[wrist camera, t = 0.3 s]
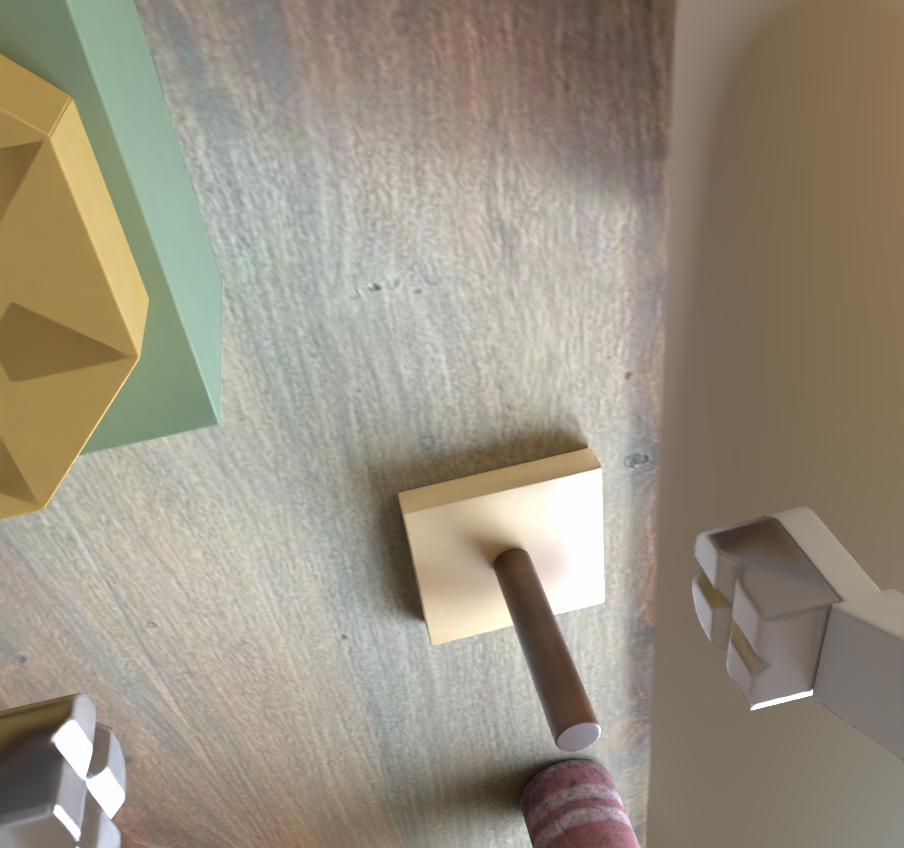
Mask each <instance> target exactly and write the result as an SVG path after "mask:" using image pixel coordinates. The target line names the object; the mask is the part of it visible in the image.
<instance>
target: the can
mask: <svg viewBox="0 0 904 848" xmlns="http://www.w3.org/2000/svg"><path fill="white" fill-rule="evenodd" d="M520 805H521V809H522V812H523V816H524V819H525V823H526V826H527V829H528V833H529V836H530V839H531V843H532V846H533V848H640V846H639V844H638V841H637V839H636V836H635V834H634V831H633V829H632V826H631V824H630V821H629V819H628V816H627V814H626V811H625V809H624V806H623V804H622V801H621V799H620V796H619V794H618V791H617V789H616V786H615V784H614V781H613V779H612V776H611V775H610V774H609V772H608V771H607V770H606V769H605V768H603V767H602V766H601V765H599V764H598V763H595V762H593V761H591V760H583V759H575V760H567V761H563V762H560V763H556V764H553V765H551V766H549V767H547V768H545V769H543V770H541V771H540V772H539V773H537V774H536V775H535V776H533V777H532V778H531V779H530V780H529V782H528V783H527V784H526V786H525V788H524V792H523V795H522V799H521V802H520Z"/></svg>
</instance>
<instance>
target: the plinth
mask: <svg viewBox="0 0 904 848" xmlns="http://www.w3.org/2000/svg"><path fill="white" fill-rule="evenodd" d="M0 54H2V55H3V56H5V57H7V58H8V59H10V60H12V61H13V62H15V63H17V64H18V65H20V66H22V67H23V68H25V69H27V70H28V71H30V72H32V73H33V74H35V75H37V76H38V77H40V78H42V79H43V80H45V81H47V82H48V83H50V84H52V85H53V86H55V87H57V88H59V89H60V90H62V91H64V92H65V93H67V94H69V95H70V96H71V97H72V98H73V100H74V103H75V105H76V108H77V111H78V113H79V116H80V119H81V121H82V124H83V126H84V129H85V132H86V134H87V137H88V140H89V142H90V145H91V147H92V150H93V153H94V155H95V158H96V161H97V163H98V166H99V169H100V171H101V174H102V176H103V179H104V182H105V184H106V187H107V190H108V192H109V195H110V197H111V200H112V203H113V205H114V208H115V211H116V213H117V216H118V219H119V221H120V224H121V226H122V229H123V232H124V234H125V237H126V240H127V242H128V245H129V247H130V250H131V253H132V255H133V258H134V261H135V263H136V266H137V268H138V271H139V274H140V276H141V279H142V282H143V284H144V287H145V290H146V292H147V295H148V297H149V305H148V311H147V317H146V323H145V329H144V335H143V342H142V348H141V354H140V359H139V361H138V362H137V364H136V365H135V367H134V369H133V370H132V372H131V373H130V375H129V376H128V378H127V380H126V381H125V383H124V384H123V386H122V388H121V389H120V391H119V392H118V394H117V395H116V397H115V399H114V400H113V402H112V403H111V405H110V407H109V408H108V410H107V411H106V413H105V414H104V416H103V418H102V419H101V421H100V422H99V424H98V426H97V427H96V429H95V430H94V432H93V433H92V435H91V437H90V438H89V440H88V441H87V443H86V444H85V446H84V448H83V449H82V451H81V452H80V454H79V456H80V455H85V454H89V453H94V452H98V451H103V450H107V449H112V448H116V447H121V446H125V445H130V444H134V443H139V442H143V441H148V440H152V439H157V438H161V437H166V436H170V435H175V434H179V433H184V432H188V431H193V430H197V429H202V428H206V427H211V426H215V425H219V424H220V421H221V345H222V278H221V275H220V272H219V269H218V266H217V262H216V259H215V256H214V253H213V250H212V247H211V243H210V240H209V237H208V234H207V231H206V228H205V225H204V221H203V218H202V215H201V212H200V209H199V206H198V202H197V199H196V196H195V193H194V190H193V187H192V184H191V180H190V177H189V174H188V171H187V168H186V165H185V161H184V158H183V155H182V152H181V149H180V146H179V143H178V139H177V136H176V133H175V130H174V127H173V124H172V120H171V117H170V114H169V111H168V108H167V105H166V102H165V98H164V95H163V92H162V89H161V86H160V83H159V79H158V76H157V73H156V70H155V67H154V64H153V61H152V57H151V54H150V51H149V48H148V45H147V42H146V38H145V35H144V32H143V29H142V26H141V23H140V20H139V16H138V13H137V10H136V7H135V4H134V1H133V0H0Z"/></svg>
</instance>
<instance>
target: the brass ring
mask: <svg viewBox="0 0 904 848" xmlns="http://www.w3.org/2000/svg"><path fill="white" fill-rule="evenodd" d="M148 305H149V297H148V295H147V292H146V290H145V287H144V284H143V282H142V279H141V276H140V274H139V271H138V268H137V266H136V263H135V261H134V258H133V255H132V253H131V250H130V247H129V245H128V242H127V240H126V237H125V234H124V232H123V229H122V226H121V224H120V221H119V219H118V216H117V213H116V211H115V208H114V205H113V203H112V200H111V197H110V195H109V192H108V190H107V187H106V184H105V182H104V179H103V176H102V174H101V171H100V169H99V166H98V163H97V161H96V158H95V155H94V153H93V150H92V147H91V145H90V142H89V140H88V137H87V134H86V132H85V129H84V126H83V124H82V121H81V119H80V116H79V113H78V111H77V108H76V105H75V103H74V100H73V98H72V97H71V96H70V95H69V94H67V93H65V92H64V91H62V90H60V89H59V88H57V87H55V86H53V85H52V84H50V83H48V82H47V81H45V80H43V79H42V78H40V77H38V76H37V75H35V74H33V73H32V72H30V71H28V70H27V69H25V68H23V67H22V66H20V65H18V64H17V63H15V62H13V61H12V60H10V59H8V58H7V57H5V56H3V55H2V54H0V519H4V518H9V517H13V516H17V515H22V514H26V513H31V512H35V511H39V510H43V509H44V508H45V507H46V506H47V505H48V503H49V501H50V500H51V498H52V497H53V495H54V494H55V492H56V490H57V489H58V487H59V486H60V484H61V482H62V481H63V479H64V478H65V476H66V475H67V473H68V471H69V470H70V468H71V467H72V465H73V463H74V462H75V460H76V459H77V457H78V456H79V454H80V452H81V451H82V449H83V448H84V446H85V444H86V443H87V441H88V440H89V438H90V437H91V435H92V433H93V432H94V430H95V429H96V427H97V426H98V424H99V422H100V421H101V419H102V418H103V416H104V414H105V413H106V411H107V410H108V408H109V407H110V405H111V403H112V402H113V400H114V399H115V397H116V395H117V394H118V392H119V391H120V389H121V388H122V386H123V384H124V383H125V381H126V380H127V378H128V376H129V375H130V373H131V372H132V370H133V369H134V367H135V365H136V364H137V362H138V361H139V359H140V354H141V348H142V342H143V335H144V329H145V323H146V317H147V311H148Z"/></svg>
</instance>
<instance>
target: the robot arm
mask: <svg viewBox="0 0 904 848" xmlns="http://www.w3.org/2000/svg"><path fill="white" fill-rule="evenodd" d="M694 555H695V556H696V558H697V560H698V561H699V563H700V565H701V567H700V568H699V569H698V570H697V572H696V573H695V574H694V575H693V577H692V596H693V600H694V604H695V609H696V613H697V616H698V618H699V620H700V623H701V625H702V627H703V629H704V631H705V633H706V635H707V636H708V638H709V640H710V642H711V643H713V644H714V645H716V646H718V647H720V648H722V649H723V650H725V651H727V652H728V659H727V668H726V669H727V671H728V673H729V674H730V676H731V678H732V679H733V681H734V683H735V685H736V686H737V688H738V690H739V691H740V693H741V695H742V696H743V698H744V699H745V701H746V703H747V705H748V707H749V708H750V710H753V709H757V708H761V707H765V706H769V705H773V704H777V703H781V702H785V701H789V700H793V699H797V698H801V697H805V696H809V695H812V699H813V700H815V701H816V702H818V703H819V704H821V705H822V706H824V707H825V708H827V709H828V710H830V711H831V712H832V713H834V714H835V715H837V716H838V717H840V718H841V719H843V720H844V721H846V722H847V723H849V724H850V725H852V726H853V727H854V728H856V729H857V730H859V731H861V732H862V733H863V734H865V735H866V736H868V737H869V738H871V739H872V740H874V741H875V742H876V743H878V744H879V745H881V746H882V747H884V748H885V749H887V750H888V751H890V752H891V753H893V754H894V755H896V756H897V757H898V758H900V759H901V760H903V761H904V594H902V593H900V592H897V591H895V590H893V589H889V590H884V591H880V590H879V588H878V587H877V586H876V585H875V584H874V583H873V581H872V580H871V579H870V578H869V577H868V576H867V574H866V573H865V572H864V571H863V570H862V568H861V567H860V566H859V565H858V564H857V562H856V561H855V560H854V559H853V558H852V557H851V555H850V554H849V553H848V552H847V551H846V550H845V548H844V547H843V546H842V545H841V544H840V543H839V541H838V540H837V539H836V538H835V537H834V536H833V534H832V533H831V532H830V531H829V530H828V528H827V527H826V526H825V525H824V524H823V523H822V521H821V520H820V519H819V518H818V517H817V515H816V514H815V513H814V512H813V511H812V510H810V509H809V508H807V507H805V506H803V507H799V508H795V509H791V510H787V511H783V512H780V513H776V514H772V515H769V516H762V517H758V518H755V519H751V520H747V521H743V522H740V523H736V524H732V525H729V526H725V527H721V528H718V529H714V530H710V531H706V532H703V533H699V534H698V536H697V538H696V539H695V545H694ZM97 710H98V707H97V705H96V704H95V703H94V701H93V700H92V699H91V697H90V696H89V694H88V693H87V692H84V693H77V694H73V695H68V696H64V697H60V698H55V699H51V700H47V701H42V702H38V703H34V704H29V705H25V706H20V707H16V708H12V709H7V710H3V711H0V848H120V839H121V833H120V832H119V830H118V829H117V827H116V826H115V824H114V823H113V822H112V820H111V818H112V817H113V816H114V814H115V813H116V811H117V810H118V808H119V807H120V806H121V804H122V803H123V801H124V800H125V788H126V771H125V762H124V754H123V751H122V749H121V746H120V743H119V740H118V738H117V736H116V735H115V733H114V732H113V730H112V728H110V727H108V726H105V725H102V724H100V723H97V722H96V718H97Z"/></svg>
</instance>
